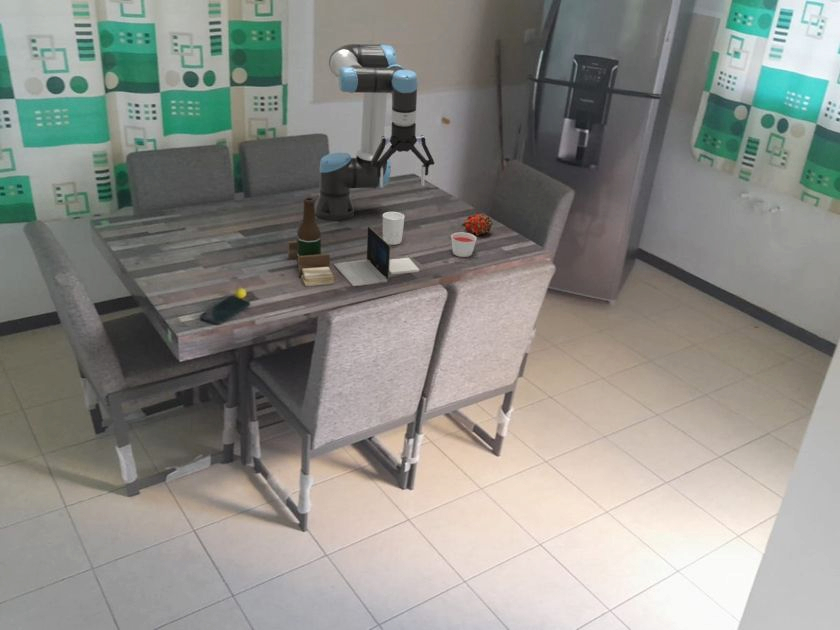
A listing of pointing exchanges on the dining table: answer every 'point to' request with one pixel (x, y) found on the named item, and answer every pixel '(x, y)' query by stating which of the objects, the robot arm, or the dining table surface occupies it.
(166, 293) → the dining table surface
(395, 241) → the white cup
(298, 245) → the beer bottle
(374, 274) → the laptop
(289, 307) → the dining table surface
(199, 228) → the dining table surface
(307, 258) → the bookends with books
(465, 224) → the dragon fruit
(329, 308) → the dining table surface
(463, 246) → the cup of red liquid
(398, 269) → the placing pad
